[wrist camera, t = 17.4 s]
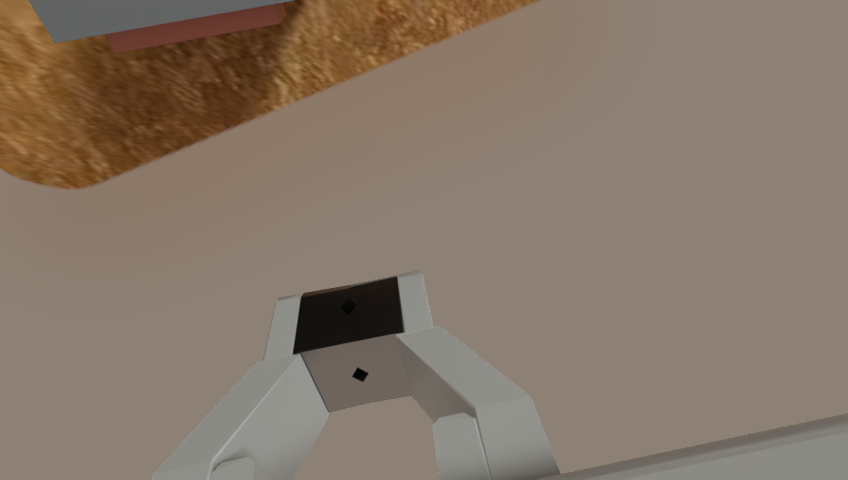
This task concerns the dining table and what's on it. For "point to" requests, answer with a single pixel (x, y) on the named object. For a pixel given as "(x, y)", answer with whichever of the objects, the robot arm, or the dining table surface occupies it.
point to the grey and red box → (126, 14)
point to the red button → (196, 28)
